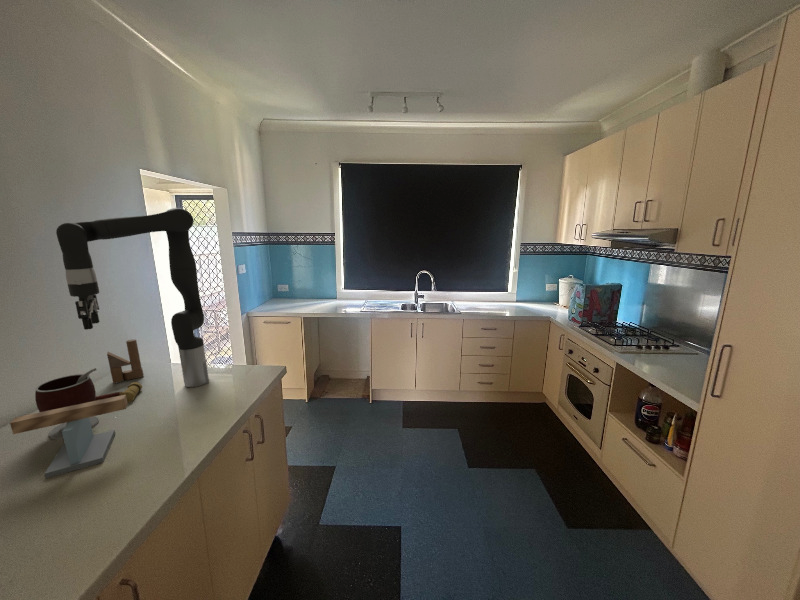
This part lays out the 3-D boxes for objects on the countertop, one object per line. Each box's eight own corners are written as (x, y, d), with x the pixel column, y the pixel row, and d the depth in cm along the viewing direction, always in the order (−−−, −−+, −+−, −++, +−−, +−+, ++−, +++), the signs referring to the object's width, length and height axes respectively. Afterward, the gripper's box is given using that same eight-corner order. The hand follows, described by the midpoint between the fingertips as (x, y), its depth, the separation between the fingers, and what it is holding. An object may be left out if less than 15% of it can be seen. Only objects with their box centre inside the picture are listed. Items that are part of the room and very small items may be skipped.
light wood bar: (13, 434, 88) (9, 423, 87) (18, 428, 91) (15, 417, 90) (125, 409, 100) (123, 398, 99) (127, 404, 103) (125, 394, 102)
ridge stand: (115, 433, 108) (108, 401, 105) (103, 462, 94) (94, 425, 92) (66, 446, 101) (57, 411, 99) (45, 478, 88) (34, 439, 86)
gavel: (63, 405, 120) (77, 393, 129) (67, 416, 121) (81, 403, 130) (131, 391, 127) (140, 380, 137) (135, 401, 129) (143, 390, 138)
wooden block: (113, 380, 146) (105, 343, 143) (143, 374, 153) (136, 338, 149) (113, 383, 144) (104, 345, 140) (143, 377, 150) (136, 340, 146)
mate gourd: (38, 446, 102) (22, 388, 97) (53, 424, 113) (39, 371, 109) (103, 429, 110) (91, 375, 106) (111, 411, 121) (100, 361, 117)
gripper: (74, 280, 116) (84, 323, 120) (60, 285, 104) (71, 333, 108) (101, 278, 120) (110, 320, 123) (91, 283, 108) (100, 329, 112)
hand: (92, 326), depth 116 cm, fingers open, 8 cm apart
